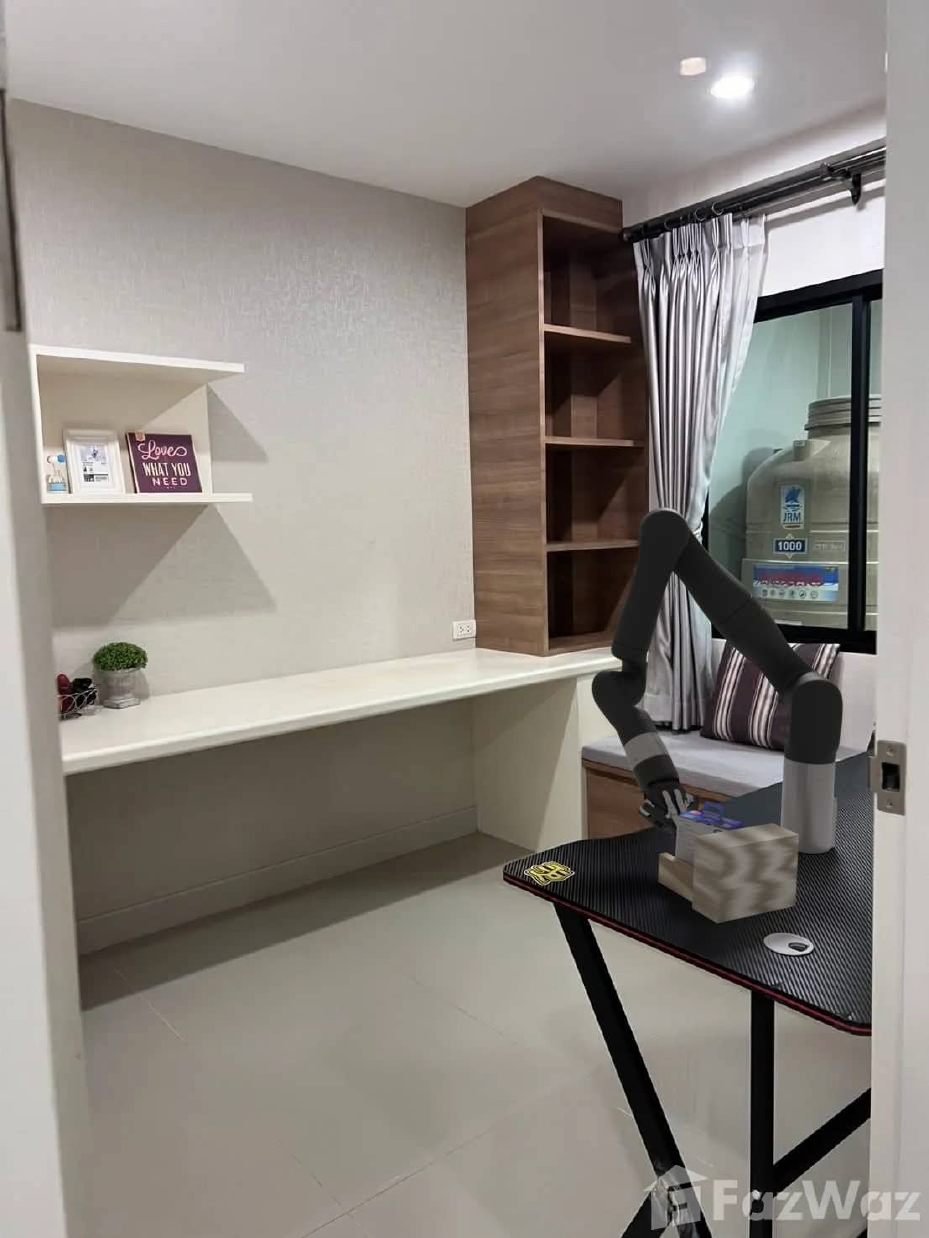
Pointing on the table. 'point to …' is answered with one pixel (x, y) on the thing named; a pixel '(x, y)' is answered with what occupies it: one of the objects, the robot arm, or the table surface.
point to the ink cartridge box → (699, 829)
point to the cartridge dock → (737, 872)
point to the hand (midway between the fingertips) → (689, 849)
